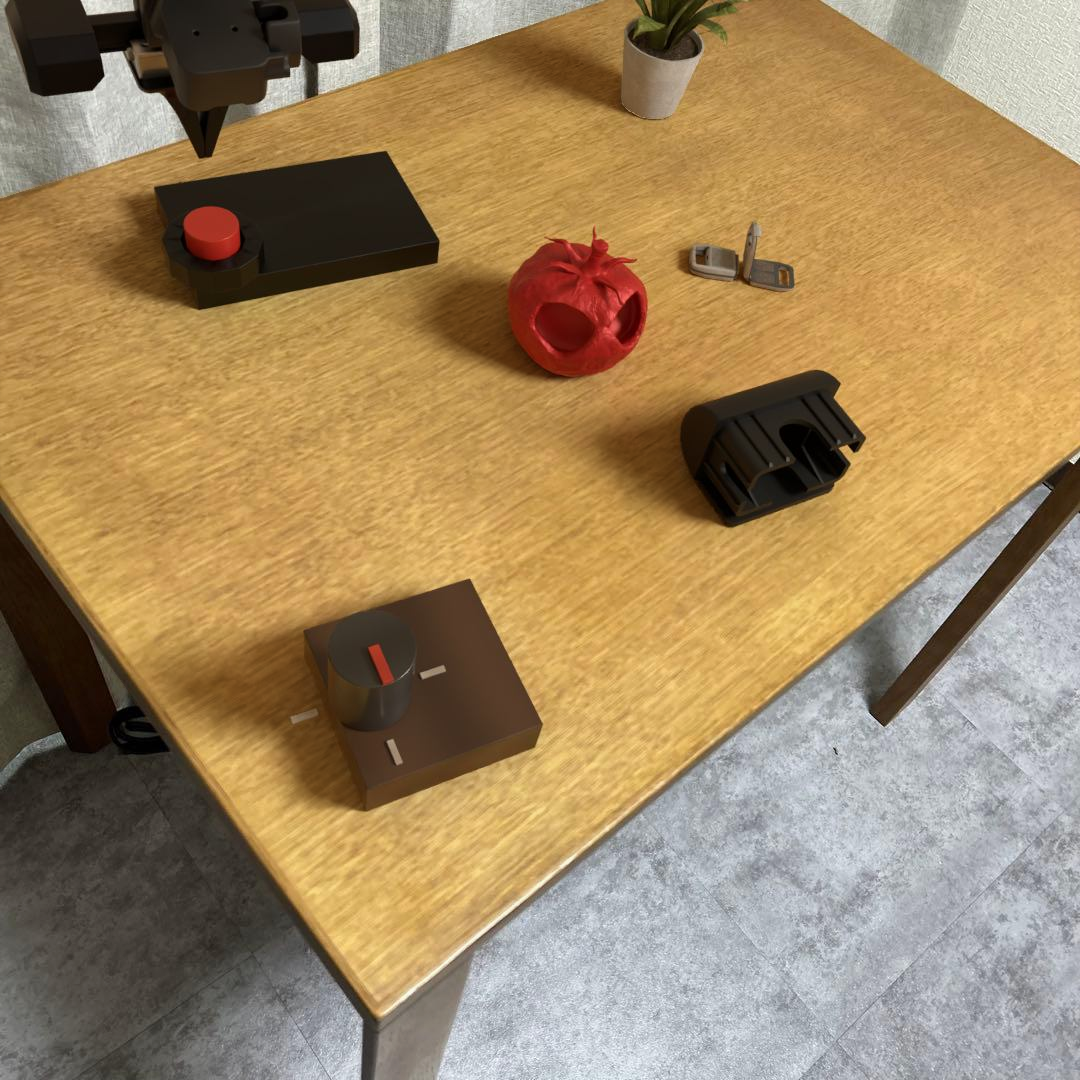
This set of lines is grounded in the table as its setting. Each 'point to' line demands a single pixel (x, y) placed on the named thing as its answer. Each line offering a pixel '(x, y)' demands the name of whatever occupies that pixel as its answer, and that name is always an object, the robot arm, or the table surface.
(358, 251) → the black rectangular slab
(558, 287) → the red hollow tomato
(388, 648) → the dial knob
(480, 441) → the table surface
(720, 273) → the strap clip
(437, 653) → the knob panel
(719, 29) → the house plant
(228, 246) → the button
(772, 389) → the end cap
